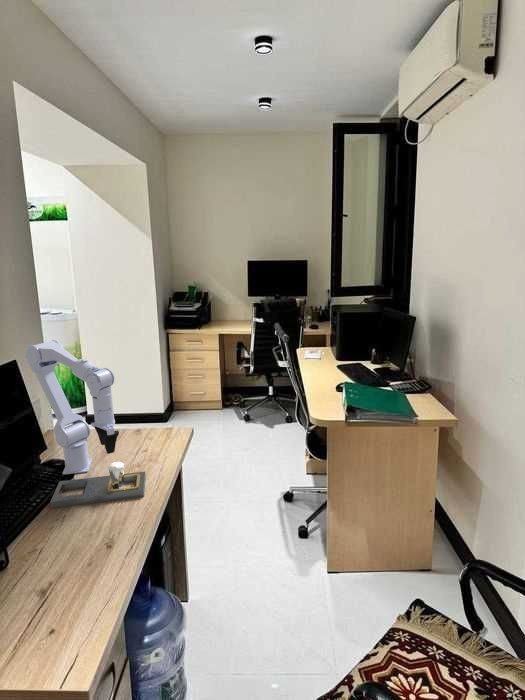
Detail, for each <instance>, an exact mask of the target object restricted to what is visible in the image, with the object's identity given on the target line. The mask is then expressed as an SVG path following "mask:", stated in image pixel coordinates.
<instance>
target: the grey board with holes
mask: <svg viewBox="0 0 525 700" xmlns="http://www.w3.org/2000/svg"><path fill="white" fill-rule="evenodd" d="M146 477H147V474H146V471H137V472H129V473H124V484H127V483H136V485H135V486H132V487H131V486H129V487H124V488H121V489H113V487H112V481H111V477H110V475H104V476H94V477H93V476H92V477H87V478H85V477H84V478H79V479H78V478H77V479H69V480H68V479H67V480H59V482H58V484H57V486H56V489H55V490H54V493H53V495H52V496H51V497H52V498H51V499H50V502H49V503H50V509H55V508H62V507H71V506H80V505H88V504H95V503H103V502H110V501H119V500H120V501H121V500H128V499H136V498H142V497H145V491H146V490H145V489H146ZM84 488H85V489H84ZM77 489H84V492H83V493H80V494H73V495H64V496H62V494H63V491H68V490H69V491H70V490H77Z"/></svg>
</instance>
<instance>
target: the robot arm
mask: <svg viewBox="0 0 525 700" xmlns="http://www.w3.org/2000/svg"><path fill="white" fill-rule="evenodd" d="M25 358H26V360H27V363H28V364H29V366H30V369H31V370H32V372H33V373H34V374H35V375H36V378H37V381H38V382H39V384H40V387H41V388H42V391H43V392H44V395H45V397H46V399H47V401H48V403H49V405H50V407H51V410H52V411H53V414H54V416H55V417H56V420H57V421H56V422H55V425H54V426H53V429H52V430H53V432H54V436H55V441H56V444H58V446H60V448H62V451H63V457H64V466H65V467H64V469H63V471H62V475H71V474H80V473H88V472H89V470H90V467H91V464H92V461H93V458H92V457H91V458H90V456H89V449H88V448H89V447H88V442H87V441H88V438H89V437H90V435H91V428H90V426H91V427H93V428H94V429H95V431H96V434H97V436H98V439H99V443H100V444H101V446H104V449H105V451H106V454H107V455H110V454H114V453H115V451H116V443H117V440H118V437H119V435H120V431H119V430H115V424H116V420H115V415H114V402H113V394H112V386H113V385H114V384H115V383H114V382H115V376H114V373H113V372H112V370H110V369H109V368H108V367H103V368H102V367H100V368H99V367H98V366H97V365H95V364H93V363H91V362H90V361H89V360H88V359H87V358H79V359H78V358H77V357H75V356H74V355H72V353H70V352H69V351H67V350H66V349H65V347H64V345H63V343H62V342H59V341H58V340H57V339H54V340H51V341H47V342H42V343H38V344H31V345H29V346H27V349H26V353H25ZM59 363H60V364H61V365H63V366H66V367H68V368H69V369H71V373H72V374H73V375H74V376H75V377H77V378H79V379H80V380H82V381H83V382H85V384H86V387H87V388H88V390H89V395H90V396H91V398H92V408H93V416H94V417H93V418H94V422H91V423H90V424H91V425H89V424H88V422H86V420H85V419H84V417H83V416H82V415H80V414H77V413H74V411H73V409H72V407H71V405H70V402H69V401H68V399H67V397H66V395H65V393H64V390H63V388H62V386H61V384H60V382H59V379H58V378H57V376H56V374H55V372H54V371H55V368H56V367H57V366H58V365H59Z"/></svg>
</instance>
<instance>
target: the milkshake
mask: <svg viewBox="0 0 525 700" xmlns="http://www.w3.org/2000/svg"><path fill="white" fill-rule="evenodd" d="M126 461H127V460H125V462H124V463H123V462H122V461H115V462H111V463H110V464H109V465H108V467H107V468H108V473H109V476H110V477H111V481H112V487H113V489H121V488H125V483H124V474H125V463H126ZM113 489H112V490H113Z"/></svg>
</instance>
